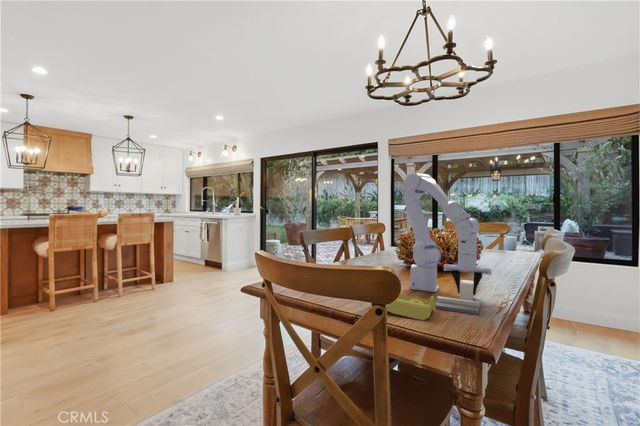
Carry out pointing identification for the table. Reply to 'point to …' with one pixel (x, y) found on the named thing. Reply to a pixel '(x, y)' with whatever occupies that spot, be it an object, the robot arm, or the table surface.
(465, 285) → the block
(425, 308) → the plastic component
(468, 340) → the table surface
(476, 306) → the rail board
